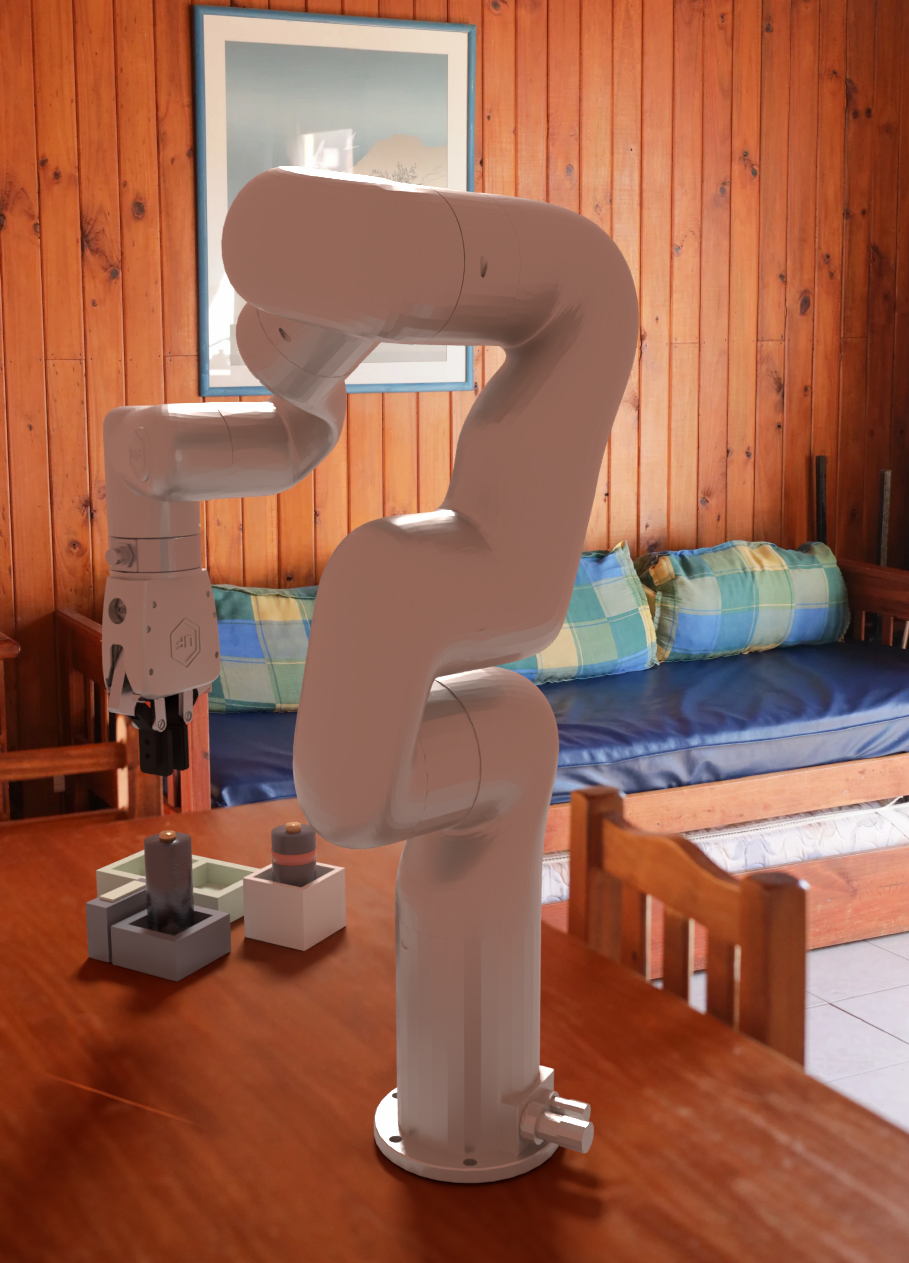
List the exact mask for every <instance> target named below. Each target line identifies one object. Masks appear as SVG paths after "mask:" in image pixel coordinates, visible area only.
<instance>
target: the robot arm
mask: <svg viewBox="0 0 909 1263" xmlns="http://www.w3.org/2000/svg"><path fill="white" fill-rule="evenodd" d="M220 241H221V242H220V244H221V259H222V264H223V268H224V269H223V270H224V272H225V274H226V276H227V279H228V281H229V283H230V285H231V286H232V288H233V289H234V291H235V292H236V294H237V295H239V297H241V299H243V300H244V301H245V302H246V303H245V304H244V305H243V307H242V308H241V310H240V312H239V314H238V317H237V319H236V320H237V321H236V326H235V340H236V344H237V348H238V352H239V355H240V356H241V359H242V361H243V363H244V364H245V367H246V368H247V369H248V371H249V372H250V373H251V376H253V378H254V379H256V381H258V383H259V384H261V385H262V387H264V388H266V390H268V391H269V392H270V393H272V394H273V395H272V396H271V397H270V398H268V399H266V400H264V401H262V402H261V401H260V402H256V401H255V402H254V401H252V402H251V401H247V402H246V401H235V402H234V401H232V402H231V401H229V402H228V401H227V402H226V401H225V402H224V401H223V402H222V401H221V402H220V401H215V402H210V401H209V402H207V401H206V402H195V403H194V402H189V403H187V402H185V403H182V402H181V403H161V404H156V405H148V404H147V405H126V406H125V405H122V406H116V407H115V408H112V409H110V410H109V411H108V412H107V413H106V414H105V416H104V419H103V423H102V441H103V442H102V444H103V445H102V446H103V462H104V465H103V466H104V479H105V481H104V482H105V486H104V487H105V502H106V503H105V504H106V506H105V507H106V520H107V521H106V523H107V524H106V526H107V535H108V536H107V541H108V543H107V544H108V549H107V550H106V552H105V555H104V556H105V557H104V558H105V561H106V563H107V564H108V565H109V576H107V577H106V582H105V583H106V584H105V590H104V598H103V607H102V608H103V611H102V624H101V625H102V626H101V628H102V629H101V656H102V657H101V658H102V673H103V674H102V675H103V681H104V685H105V688H106V690H107V692H108V693H109V698H108V703H107V709H108V712H110V713H115V714H118V715H119V714H120V715H123V716H124V715H125V716H126V717H127V718H128V719H130V721H131V724H132V727H133V728H134V729H137V731H138V749H139V750H138V752H139V754H138V755H139V768H140V771H141V773H143V774H147V775H152V776H153V775H154V776H160V777H163V778H164V777H166V778H167V777H169V776H172V775H173V773H174V770H175V771H180V772H183V771H186V770H189V768H190V752H189V751H190V748H189V745H190V744H189V729H188V728H189V727H188V726H189V723H191V722H192V720H193V716H194V707H195V705H196V703H197V700H198V698H199V697H200V696H201V695H202V694H204V693H205V692H206V691H207V690H208V689H210V687H211V686H212V683H213V682H214V681H215V680H217V679H218V677H219V676H220V673H221V649H220V648H221V647H220V635H219V626H218V624H219V623H218V617H217V609H216V604H215V597H214V592H213V587H212V583H211V580H210V575H209V572H208V569H207V568H203V563H202V562H203V560H202V559H203V558H202V556H203V555H202V534H201V532H202V529H201V528H202V526H201V524H202V523H201V504H200V503H201V502H202V501H203V502H204V501H205V502H206V501H212V500H221V499H223V500H224V499H237V498H238V499H239V498H240V499H241V498H255V497H256V498H257V497H269V496H274V495H278V494H280V493H283V492H286V491H288V490H291V489H292V488H293V487H294V488H295V486H296V485H298V484H299V483H300V482H302V481H303V480H305V478H307V477H308V476H309V475H310V474H311V473H312V472H313V471H314V470H315V469H316V468H317V467H318V466H319V465H320V464H321V463H322V462H323V461H325V459H326V458H328V456H329V455H330V454H331V452H333V450H334V449H335V448H336V446H337V445H338V443H339V440H340V437H341V435H342V431H343V428H344V423H345V418H346V412H347V405H348V404H347V402H348V397H347V396H348V393H347V386H346V380H347V379H348V377H350V376H351V375H352V373H354V371H356V369H357V368H358V367H359V366H360V365H361V364H362V363H363V361H364V360H365V359H366V358H367V357H368V356H369V355H371V353H372V352H373V351H374V350H375V349H376V348H377V347H378V346H379V345H380V344H381V343H384V344H385V343H386V344H394V345H395V344H397V345H398V344H399V345H409V346H410V345H411V346H412V345H417V346H418V345H419V346H420V345H421V346H422V345H424V346H425V345H426V346H457V347H459V346H460V347H461V346H464V347H479V346H481V347H483V346H484V347H485V346H486V347H499V348H501V349H502V350H503V351H504V353H505V359H504V361H503V363H502V364H501V365H500V367H499V368H498V369H497V370H496V372H495V373H493V375H492V376H491V377H490V378H489V380H488V381H487V382H486V384H485V385H484V386H483V387H482V389H481V390H480V392H479V394H478V396H477V398H476V399H475V400H474V402H473V404H472V405H471V408H470V410H469V411H468V413H467V415H466V418H465V419H464V422H463V424H462V427H461V430H460V431H459V436H458V438H457V443H456V451H455V457H454V463H453V468H452V473H451V476H450V481H449V484H448V488H447V491H446V494H445V497H444V499H443V501H442V502H441V504H440V505H439V506H438V507H437V508H435V509H434V510H433V511H430V512H418V513H407V514H406V513H405V514H398V515H388V516H384V517H381V518H377V519H373V520H370V521H367V522H365V523H363V524H361V525H360V526H357V527H355V528H354V529H353V530H352V531H351V532H349V533H348V534H347V535H345V537H343V539H342V540H340V543H339V544H338V545H336V548H335V549H334V550H333V552H332V553H331V555H330V557H329V559H328V560H327V562H326V564H325V567H324V569H323V571H322V574H321V576H320V580H319V584H318V585H317V586H318V587H317V591H316V595H315V602H314V606H313V612H312V619H311V625H310V630H309V637H308V643H307V649H306V650H307V651H306V658H305V663H304V669H303V674H302V675H303V676H302V682H301V689H300V695H299V702H298V709H297V714H296V722H295V727H294V736H293V748H292V774H293V776H292V777H293V783H294V789H295V792H296V797H297V802H298V804H299V806H300V809H301V811H302V813H303V816H304V817H305V820H306V821H307V823H308V825H310V826H311V827H312V828H313V829H314V830H315V831H316V834H318V836H319V837H321V838H322V839H323V840H325V841H327V842H329V843H330V844H332V845H335V846H336V847H340V848H344V849H349V850H368V849H369V850H370V849H375V848H379V847H380V848H381V847H385V846H388V845H392V844H397V843H401V842H403V841H404V845H403V848H402V850H401V854H400V857H399V862H398V865H397V870H396V876H395V877H396V878H395V887H394V918H395V919H394V921H395V922H394V925H395V926H394V928H395V929H394V931H395V932H394V933H395V935H394V936H395V940H394V941H395V943H394V944H395V1020H396V1021H395V1022H396V1026H395V1030H396V1040H395V1041H396V1088H394V1089H392V1090H391V1091H390V1092H389V1093H387V1094H386V1096H385V1097H384V1098H382V1099H381V1101H380V1102H379V1103H378V1105H377V1107H376V1108H375V1112H374V1115H373V1136H374V1139H375V1143H376V1145H377V1146H378V1147H377V1148H379V1150H380V1151H381V1153H382V1154H383V1155H384V1156H385V1157H386V1158H387V1159H388V1160H390V1161H391V1162H392V1163H394V1164H395V1165H397V1166H398V1167H400V1168H402V1169H403V1170H405V1171H407V1172H410V1173H412V1174H414V1175H417V1176H419V1177H422V1178H428V1179H431V1180H434V1181H437V1182H438V1181H440V1182H448V1183H453V1184H454V1183H455V1184H481V1183H490V1182H491V1183H492V1182H497V1181H498V1182H499V1181H501V1180H507V1179H511V1178H514V1177H517V1176H520V1175H523V1174H526V1173H528V1172H530V1171H532V1170H533V1169H535V1168H537V1167H539V1166H541V1165H542V1164H543V1163H545V1162H546V1161H548V1159H550V1158H551V1157H552V1156H553V1154H554V1153H555V1152H556V1150H557V1149H558V1148H559V1147H561V1148H564V1149H569V1150H573V1151H575V1152H579V1153H582V1154H588V1152H589V1151H590V1149H591V1146H592V1144H593V1140H594V1134H595V1128H594V1124H593V1122H592V1121H590V1117H591V1111H592V1110H591V1109H592V1108H591V1107H592V1106H591V1104H589V1103H587V1102H585V1101H584V1102H583V1101H580V1100H576V1099H573V1098H570V1099H568V1098H565V1097H561V1096H560V1095H559V1092H557V1090H556V1091H555V1090H554V1087H555V1086H554V1085H555V1084H554V1083H555V1069H554V1068H551V1067H547V1066H545V1065H540V1064H541V1062H540V1060H541V1058H540V1057H541V1056H540V1055H541V1053H540V1052H541V965H542V962H541V961H542V960H541V959H542V957H541V955H542V953H541V952H542V949H541V948H542V945H541V944H542V930H541V929H542V905H543V904H542V902H543V901H542V899H543V896H542V895H543V894H542V893H543V890H542V889H543V860H544V845H545V837H546V836H545V835H546V829H547V823H548V822H547V821H548V816H549V811H550V806H551V800H552V796H553V793H554V792H553V791H554V787H555V783H556V777H557V773H558V772H557V771H558V766H559V756H560V754H559V753H560V739H559V728H558V724H557V720H556V716H555V714H554V711H553V709H552V708H553V707H551V703H550V702H549V701H548V698H547V697H546V696H545V694H544V693H543V692H542V691H541V689H540V688H539V687H538V686H537V685H536V684H535V683H533V681H532V680H530V679H529V678H527V677H526V676H524V675H522V674H521V673H518V672H516V671H513V670H512V669H511V670H510V669H507V668H503V667H499V666H502V665H506V664H511V663H515V662H519V661H522V660H525V659H528V658H531V657H534V656H536V655H537V654H540V653H541V652H543V651H545V650H546V649H547V648H549V647H550V646H551V645H552V644H553V643H554V642H555V641H556V639H557V638H558V636H559V634H560V632H561V630H562V628H563V626H564V624H565V623H564V622H565V620H566V617H567V614H568V610H569V606H570V603H571V600H572V594H573V591H574V587H575V583H576V579H577V574H578V569H579V566H580V560H581V557H582V554H583V549H584V544H585V541H586V540H585V539H586V536H587V530H588V527H589V522H590V519H591V514H592V509H593V505H594V501H595V496H596V492H597V487H598V482H599V481H598V480H599V476H600V472H601V467H602V462H603V459H604V455H605V451H606V448H607V445H608V441H609V439H610V436H611V432H612V429H613V426H614V423H615V421H616V417H617V416H618V411H619V408H620V406H621V403H622V400H623V397H624V394H625V392H626V389H627V386H628V382H629V379H630V375H631V373H632V370H633V366H634V361H635V357H636V354H637V348H638V347H637V346H638V340H639V331H640V330H639V329H640V312H639V310H640V309H639V301H638V300H639V299H638V294H637V290H636V286H635V282H634V278H633V275H632V272H631V268H630V266H629V265H628V264H629V263H628V262H627V260H626V258H625V257H624V254H623V252H622V251H621V249H620V248H619V247H618V245H617V244H616V242H615V241H614V240H613V238H612V237H611V236H610V235H609V233H607V232H606V231H605V230H604V229H603V228H601V226H600V225H598V224H597V223H595V222H594V221H593V220H592V219H590V218H588V217H586V216H584V215H582V214H580V213H578V212H577V211H574V210H572V209H568V208H566V207H563V206H560V205H557V204H553V203H549V202H545V201H541V200H537V199H533V198H525V197H519V196H513V195H505V194H496V193H486V192H485V193H484V192H473V191H465V190H459V189H450V188H444V187H435V186H427V185H419V184H410V183H402V182H397V181H394V180H390V179H387V178H384V177H383V178H382V177H376V176H370V175H363V174H354V173H346V172H338V171H331V170H322V169H315V168H308V167H300V166H291V165H290V166H287V165H286V166H284V165H283V166H281V165H280V166H277V167H272V168H269V169H266V170H265V171H263V172H261V173H259V174H257V175H255V176H254V177H253V178H251V179H250V180H249V181H248V182H247V183H245V184H244V186H243V187H242V188H241V189H240V190H239V192H238V193H237V195H236V196H235V198H234V199H233V201H232V202H231V205H230V206H229V209H228V211H227V213H226V216H225V219H224V222H223V227H222V233H221V240H220ZM147 703H149V705H148V704H147Z"/></svg>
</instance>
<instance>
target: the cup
mask: <svg viewBox="0 0 909 1263" xmlns="http://www.w3.org/2000/svg"><path fill="white" fill-rule="evenodd" d="M316 834H317V833H316V831H315V830H314V829H313V828H312V827H311V826H310V824H303V823H301V822H298V821H291V822H286V823H285V824H282V825H278V826H276V827H273V828H272V829H271V831H270V839H271V842H270V844H271V848H270V857H271V858H270V859H271V863H270V864H268V865H266V866H264V867H261V868H259V869H260V870H258V871H256V872H254V873H252V874H250V875H248V876H246V877H244V878H243V896H244V916H243V918H244V919H243V923H244V926H243V927H244V938H248V939H253V940H256V941H260V942H265V943H268V944H269V943H270V944H274V945H278V946H282V947H286V948H291V949H293V950H294V949H295V950H298V951H302V952H305V951H307V950H308V949H310V948H312V947H313V946H316V945H317V944H319V943H320V942H322V941H323V940H325V939H327V938H328V937H330V936H331V935H333V934H335V933H336V932H338V931H339V930H342V929H343V928H344V927H347V912H346V910H347V909H346V908H347V907H346V904H347V903H346V868H345V867H341V866H337V865H332V864H328V863H322V862H318V861H317V858H318V855H317V852H318V851H317V848H318V847H317V836H316Z"/></svg>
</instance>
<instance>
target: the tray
mask: <svg viewBox="0 0 909 1263" xmlns="http://www.w3.org/2000/svg"><path fill="white" fill-rule="evenodd" d="M260 869H261V868H257V867H252V866H248V865H244V864H238V863H235V862H228V861H224V860H221V859H220V860H219V859H215V858H214V859H213V858H211V857H210V858H209V857H205V856H201V855H195V854H192V870H193V896H194V905H196V906H200V907H204V908H209V909H213V910H217V911H222V912H226V913H230V924H231V923H233V922H234V921H236V920H238V919H240V918H242V917H244V896H243V878H244V877H246V876H248V875H250V874H252V873H254V872H256V871H258V870H260ZM95 876H96V898H98V897H100V896H101V895H103V894H106V893H108V892H110V891H112V890H114V889H117V888H119V887H121V886H123V885H125V884H128V883H130V882H132V881H135V880H137V879H140V878H144V879H145V856H144V849H142V850H139V851H138V852H135V853H133V854H131V855H129V856H127V857H123V858H122V859H119V860H117V861H115V862H112V863H110V864H108V865H105V866H103V867H101V868H99V869H96V870H95Z"/></svg>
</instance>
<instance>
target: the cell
mask: <svg viewBox="0 0 909 1263" xmlns="http://www.w3.org/2000/svg"><path fill="white" fill-rule="evenodd" d="M143 850H144V856H145V879H146V901H147V923H148V929H149V930H153V931H157V932H161V933H165V934H169V935H173V936H175V935H177V934H179V933H180V932H182V931H184V930H186V929H188V928H190V927H192V926H194V925H195V923H194V896H193V870H192V855H193V851H192V850H193V849H192V836H191V835H189V834H188V833H184V832H176V831H175V830H168V829H167V830H162V831H160V832H159V833H155V834H152V835H150V836H147V837H146V838H144V840H143Z"/></svg>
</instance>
